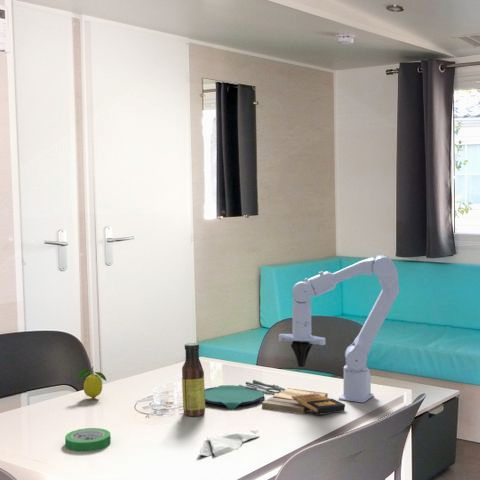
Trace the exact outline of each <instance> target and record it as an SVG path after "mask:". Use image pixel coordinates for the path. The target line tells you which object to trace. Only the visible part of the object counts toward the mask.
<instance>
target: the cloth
mask: <svg viewBox="0 0 480 480" xmlns="http://www.w3.org/2000/svg"><path fill="white" fill-rule="evenodd" d="M257 433H260V431H259V430H248V431H245V432H244V431H242V432H241V431H235V432H231V433H224V434H220V435H214V436H207V437H205V438H206V439H205V440H203V442H202V445H201V447H200V449H199V454H198V456H197V457H196V460H197V461H198V460H199V459H200V458H201V456H203V457H210V456H213V455H214V458H218V457H220V456H223V455H226V454H229V453H233V451H237V450H238V449H239V448H241V446H242V444H243V443H244V442H246V441H250V440H252V439H255V438H260V436H259V435H257Z"/></svg>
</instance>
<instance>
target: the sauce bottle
mask: <svg viewBox="0 0 480 480" xmlns="http://www.w3.org/2000/svg"><path fill="white" fill-rule="evenodd" d="M199 349H200V344H199V343H198V342H187V343H185V344H184V351H185V361H184V363H183V365H182V367H181V374H182V376H181V383H182V384H181V385H182V387H181V388H182V408H183V414H184V415H186V416H189V417H199V416H203V415H204V414H205V412H206V402H205V389H206V388H205V371H204V369H203V365H202V363H201V360H200V353H199V352H200V351H199Z"/></svg>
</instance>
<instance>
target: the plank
mask: <svg viewBox="0 0 480 480" xmlns="http://www.w3.org/2000/svg"><path fill="white" fill-rule="evenodd" d="M285 389H286V390H284V391H283V390H281V391H282V392H279V393H275V394H274V395H272V398H279V399H286V400H294V399H293V398H292V396H296V395H299V396H300V395H305V394H308V395H309V394H314V393H317V394H320V395H322V396H326V397H328V393H327V392H320V391H313V390H305V389H296V388H290V387H289V388H288V387H287V388H285ZM328 398H329V397H328ZM294 401H295V400H294Z"/></svg>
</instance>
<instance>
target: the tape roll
mask: <svg viewBox="0 0 480 480" xmlns="http://www.w3.org/2000/svg"><path fill="white" fill-rule="evenodd" d="M64 439H65V440H64V441H65V443H64V445H65V448H66V449H67V450H70V451H74V452H93V451H94V452H95V451H99V450H103V449H105V448H108V447H109V446H110V445H111V443H112V442H111V432H110V431H109V430H108V429H104V428H98V427H87V428H81V429H80V428H79V429H76V430H72V431H70V432H68V433H67V434H66V435H65V438H64Z"/></svg>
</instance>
